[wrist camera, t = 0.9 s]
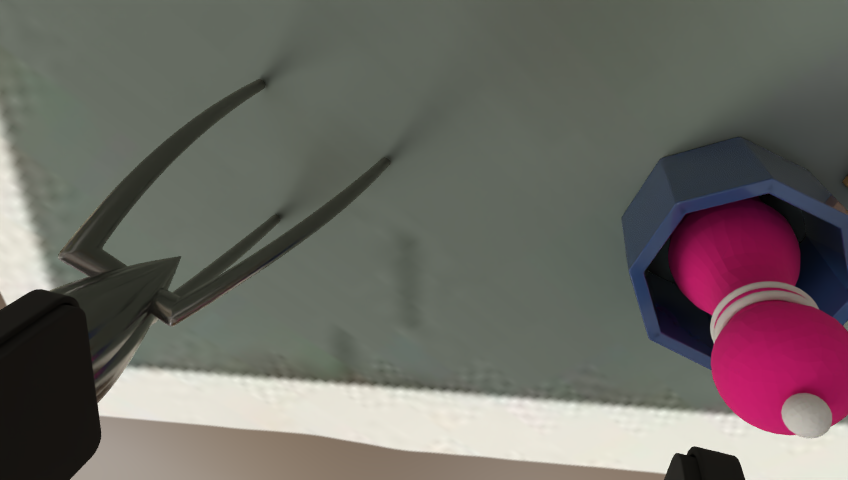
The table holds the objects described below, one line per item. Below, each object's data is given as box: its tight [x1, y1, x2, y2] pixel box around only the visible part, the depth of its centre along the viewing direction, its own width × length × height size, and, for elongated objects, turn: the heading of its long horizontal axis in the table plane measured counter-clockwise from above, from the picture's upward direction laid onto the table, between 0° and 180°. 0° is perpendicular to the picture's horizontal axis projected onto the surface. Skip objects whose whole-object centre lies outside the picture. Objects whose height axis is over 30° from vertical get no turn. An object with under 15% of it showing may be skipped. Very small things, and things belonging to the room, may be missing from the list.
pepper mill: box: [668, 196, 848, 438], centre depth 34 cm, size 7×7×20 cm
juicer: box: [50, 79, 390, 403], centre depth 34 cm, size 10×11×30 cm
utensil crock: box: [622, 137, 848, 370], centre depth 39 cm, size 12×12×8 cm
